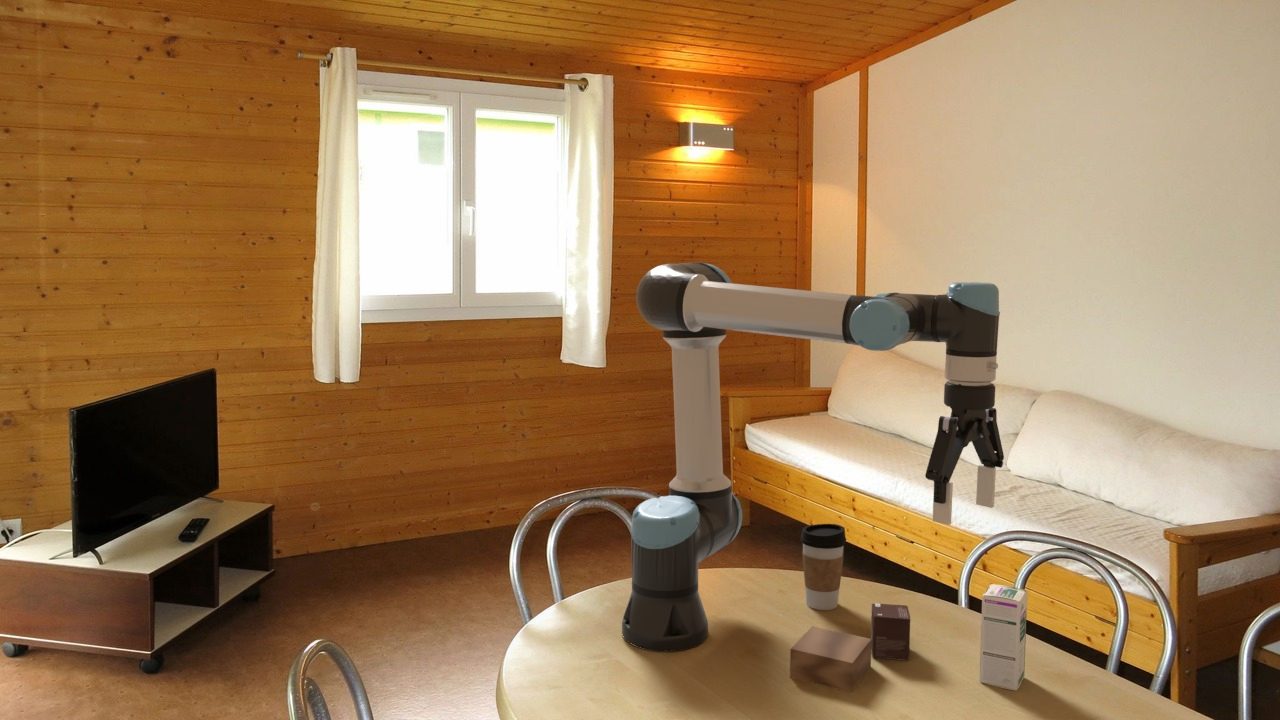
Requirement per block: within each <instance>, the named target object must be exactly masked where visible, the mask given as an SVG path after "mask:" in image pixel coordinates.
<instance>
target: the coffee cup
mask: <svg viewBox="0 0 1280 720" xmlns="http://www.w3.org/2000/svg"><path fill="white" fill-rule="evenodd" d="M846 541H847V538H846V528H845V527H844V526H842V525H840V524H836V523H816V524H811V525H805V526H804V527H802V530H801V535H800V543H802V566H803V578H804V587H805V603H806V605H807V607H809V608H811V609H814V610H819V611H830V610H831V611H832V610H835V609H836V608H837V607H838V606H839V594H840V587H841V580H842V572H843V564H844V557H845V556H844V555H845V554H844V547H845V546H846V544H847V542H846Z"/></svg>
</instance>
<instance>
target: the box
mask: <svg viewBox="0 0 1280 720" xmlns="http://www.w3.org/2000/svg"><path fill="white" fill-rule="evenodd" d="M870 618H871V622H870V623H871V625H870V626H871V627H870V631H871V632H870V639H872V640H871V658H875V659H886V660H899V661H909V660H910V643H911V637H910V636H911V635H910V634H911V621H912V620H911V615H910V611H909V607H908V605H907V604H904V605H902V604H892V603H890V604H888V603H871V617H870Z"/></svg>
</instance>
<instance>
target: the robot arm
mask: <svg viewBox="0 0 1280 720" xmlns="http://www.w3.org/2000/svg"><path fill="white" fill-rule="evenodd" d="M999 292H1000V291H999V288H998V286H997V285H996V284H994V283H991V282H975V281H973V282H963V281H962V282H961V281H959V282H958V281H957V282H952V283H950V284H949V285H948V290H947V292H946V293H945V294H944V293H943V294H919V293H901V292H888V293H887V292H886V293H877V294H875V295H874V296H870V295H861V294H860V295H855V294H848V293H847V294H845V293H835V292H825V291H814V290H804V289H793V288H784V287H783V288H782V287H772V286H765V285H764V286H761V285H760V286H759V285H751V284H742V283H732V280H731V279H730V277H729V276H728V274H726V272H724V270H722V269H721V268H720V267H717V266H715V265H714V264H711V263H704V262H696V261H694V262H687V263H666V264H665V263H664V264H659V265H657V266H655V267H654V268H651V269H650V270H648V271H647V272H646V273H645V275H643V277H642V278H641V280H640V281H639V284H638V286H637V289H636V294H635V295H636V298H635V301H636V306H637V310H638V311H639V315H640V316H641V317H642V318H643V319H644V321H645V322H646V323H647V324H649V326H652V327H654V328H656V330H657V329H658V330H661V331H662V339H663V340H664V341H665V342H666V343H667V344H669V346H670V348H671V363H672V364H671V367H672V368H671V369H672V386H673V387H672V389H673V410H674V411H673V412H674V415H673V416H674V437H675V439H674V440H675V464H676V465H675V466H676V475H675V476H674V477H673V479H672V480H670V482H669V483H668V492H669V493H668V495H661V496H659V497H651V498H649V499H646V500H644V501H642V502H641V503H639V504H637V506H636V507H635V509H634V510H633V512H632V516H631V517H632V518H631V526H630V537H631V593H630V596H629V599H628V603H627V605H626V608H625V612H624V615H623V618H622V622H621V624H622V625H621V634H623V635H622V637H623V636H624V638H625V639H626V640H627V641H629V642H630V643H632V644H634V645H636V646H638V647H637V648H639V647H641V648H640V649H642V648H644V649H643V650H646V649H647V651H652V650H653V651H654V652H678V651H685V650H689V649H693V648H695V647H698V646H699V645H701V644H703V643H704V642H705V641H706V640H707V639H708V636H709V621H708V618H707V615H706V612H705V609H704V605H703V602H702V598H701V596H700V594H699V593H700V592H699V564H700V563H701V562H702V561H704V560H705V559H707V558H709V557H710V556H712V555H713V554H715V553H718V552H719V551H721V550H723V549H725V548H726V547H727V546H728V545H729V544H730V543H731V542H732V541H733V540H734V539H735V538H736V537H737V535H738V533H739V532H740V530H741V527H742V523H743V510H742V507H741V503H740V501H739V499H738V498H737V497H736V496H735V494H734V492H732V491H733V488H732V486H733V485H732V481H731V480H730V478H728V476H726V475H725V474H724V469H723V468H724V467H723V465H724V464H723V463H724V462H723V438H722V414H721V413H722V409H721V388H720V387H721V382H720V380H721V379H720V358H719V357H720V352H719V348H720V347H719V346H720V344H721V342H722V341H723V340H724V339H726V337H727V331H736V332H744V333H745V332H746V333H754V334H762V335H771V336H772V335H773V336H780V337H788V338H789V337H790V338H796V339H805V340H812V341H813V340H814V341H822V342H832V343H839V344H848V345H853V346H859V347H862V348H863V349H865V350H869V351H874V352H875V351H877V352H879V351H881V352H882V351H885V352H886V351H889V350H892V349H894V348H896V347H897V346H901V345H902V344H907V343H910V342H927V343H929V342H932V343H945V345H946V346H945V364H944V365H945V366H944V367H945V368H944V378H945V379H946V380H948V381H946V382H945V383H944V388H943V389H944V390H943V391H944V392H943V403H944V405H945V406H946V407H949V408H950V409H951V413H950V416H944V415H943V416H942V415H941V416H940V417H939V418H938V424H937V426H938V427H937V432H936V436H935V440H934V442H933V443H934V444H933V446H932V451H931V452H930V453H931V454H930V457H929V460H928V464H927V468H926V470H925V471H926V472H925V475H924V476H925V478H926V479H927V480H929V481H933V504H932V522H934V523H939V524H942V525H943V524H944V525H948V526H950V525H951V524H952V511H953V510H952V509H953V490H954V489H953V487H954V485H953V484H954V483H953V482H951V478H952V476H953V474H954V471H955V469H956V467H957V464H958V462H959V460H960V457H961V455H962V452H963V450H964V448H966V447H968V446H969V444H970V443H972V445H973V447H974V449H975V453H976V454H977V456H978V459H979V461H980V464H979V465H977V475H976V478H977V480H976V498H975V499H976V500H975V503H976V504H975V505H977V506H980V507H987V508H990V509H991V508H994V507H995V494H996V493H995V491H996V473H997V472H996V471H997V469H996V468H1002V467H1003V465H1004V462H1003V461H1004V459H1005V455H1004V454H1005V453H1004V450H1003V445H1002V439H1001V435H1000V430H999V425H998V419H997V416H998V415H997V408H996V407H995V403H996V386H995V384H994V383H992V382H994V381H996V376H997V375H996V374H997V369H999V364H998V363H997V358H998V357H997V354H998V341H999V339H998V337H999V327H1000V325H999V324H1000V314H1001V311H1000V293H999ZM624 638H623V639H624ZM625 639H624V640H625ZM626 640H625V641H626ZM627 641H626V642H627ZM630 643H629V644H630ZM632 644H631V645H632ZM634 645H633V646H634ZM636 646H635V647H636Z"/></svg>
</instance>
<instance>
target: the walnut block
mask: <svg viewBox="0 0 1280 720" xmlns="http://www.w3.org/2000/svg"><path fill="white" fill-rule="evenodd" d="M871 640H872V639H871V638H869V637H864V636H859V635H854V634H850V633H845V632H841V631H836V630H832V629H829V628H828V629H826V628H822V627H818V626H811V627H810V629H808V630H807V631H806V632H805V633H804V634H803V635H802V636H801V637H800V638H799V639H798V640H797V641H796V642H795V643H794V644H793V646H792V647H791V648H790V650H789V651H790V658H789V660H790V661H789V678H792V679H796V680H800V681H803V682H804V681H805V682H809V683H812V684H817V685H819V686H820V685H821V686H824V687H829V688H833V689H836V690H839V691H840V690H841V691H845V692H849V693H852V692H853V691H854V690H855V688H856V687H857V685H859V683H860V681H861V680H862V679H863V677H864V676H866V674H867V672H868V671H869V669H870V668H871V667H872V665H871V663H872V650H871Z"/></svg>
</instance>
